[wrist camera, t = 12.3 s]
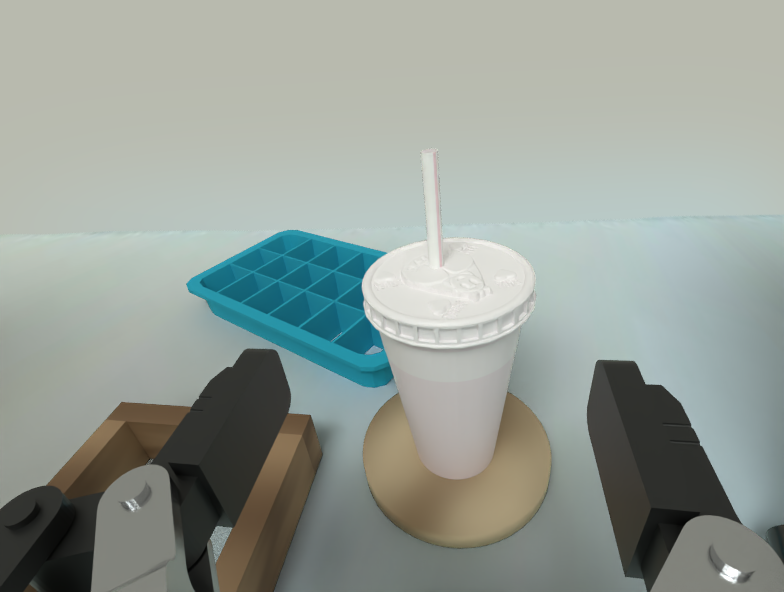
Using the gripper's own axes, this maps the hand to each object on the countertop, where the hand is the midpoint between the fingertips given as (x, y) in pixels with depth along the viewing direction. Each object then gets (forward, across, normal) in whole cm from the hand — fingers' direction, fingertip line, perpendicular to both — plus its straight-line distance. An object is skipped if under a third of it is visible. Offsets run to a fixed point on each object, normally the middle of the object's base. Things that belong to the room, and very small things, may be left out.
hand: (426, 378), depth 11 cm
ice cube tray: (+18, +10, +12) cm, 24 cm away
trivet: (+6, 0, +11) cm, 12 cm away
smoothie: (+6, 0, +10) cm, 12 cm away
